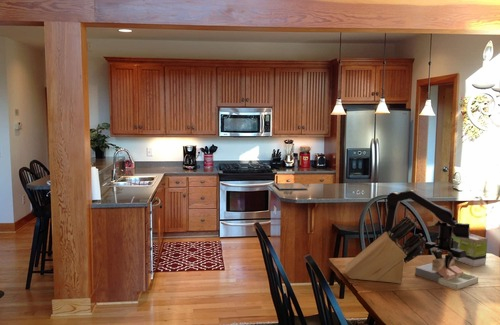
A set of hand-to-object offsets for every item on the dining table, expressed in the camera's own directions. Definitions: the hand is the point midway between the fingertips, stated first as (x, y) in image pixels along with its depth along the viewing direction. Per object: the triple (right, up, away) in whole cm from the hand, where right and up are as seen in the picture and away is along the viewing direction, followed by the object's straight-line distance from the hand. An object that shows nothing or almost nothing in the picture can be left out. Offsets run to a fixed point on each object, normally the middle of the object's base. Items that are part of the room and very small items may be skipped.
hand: (443, 267), depth 202 cm
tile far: (+5, -3, -1) cm, 6 cm away
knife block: (-30, -5, -2) cm, 31 cm away
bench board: (-2, -5, +4) cm, 7 cm away
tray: (+4, -6, -6) cm, 9 cm away
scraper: (0, -1, 0) cm, 1 cm away
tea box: (+26, -4, +27) cm, 37 cm away
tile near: (-1, -3, -5) cm, 6 cm away
